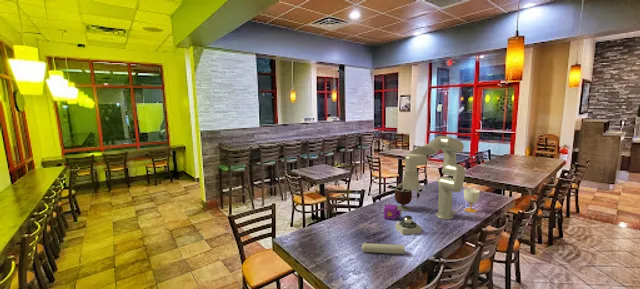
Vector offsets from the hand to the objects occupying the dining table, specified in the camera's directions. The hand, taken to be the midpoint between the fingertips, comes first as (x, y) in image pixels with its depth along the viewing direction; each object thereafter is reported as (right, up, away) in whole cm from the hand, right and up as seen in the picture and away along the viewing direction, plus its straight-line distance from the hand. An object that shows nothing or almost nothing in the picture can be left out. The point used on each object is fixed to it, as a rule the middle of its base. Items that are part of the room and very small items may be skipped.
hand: (410, 197), depth 190 cm
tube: (-25, -28, -25) cm, 46 cm away
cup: (+61, -18, +35) cm, 73 cm away
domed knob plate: (-1, -24, +2) cm, 24 cm away
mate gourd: (+9, -18, +42) cm, 47 cm away
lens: (-1, -20, +1) cm, 20 cm away
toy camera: (-6, -21, +24) cm, 32 cm away
